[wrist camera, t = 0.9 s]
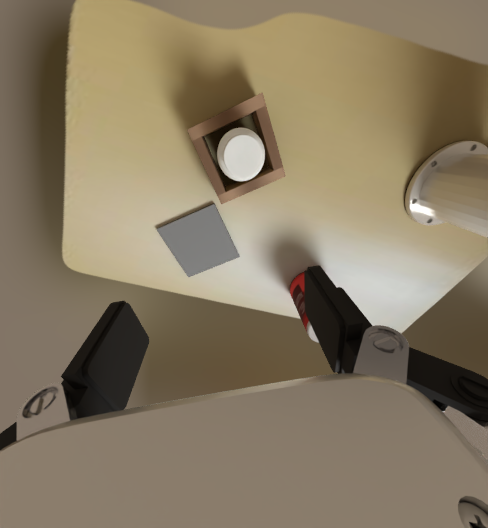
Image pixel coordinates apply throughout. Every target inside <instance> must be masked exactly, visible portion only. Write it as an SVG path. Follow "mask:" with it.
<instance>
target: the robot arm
mask: <svg viewBox="0 0 488 528" xmlns="http://www.w3.org/2000/svg"><path fill="white" fill-rule="evenodd" d="M405 206H406V211H407V213H408V215H409V216H410V217H411V219H413V220H414V221H416V222H418V223H421V224H424V225H437V224H442V223H444V222H447V223H450V224H452V225H455V226H458V227H460V228H463V229H466V230H468V231H471V232H474V233H476V234H479V235H482V236H484V237H487V238H488V148H487V147H486V146H485V145H484V144H482V143H480V142H476V141H460V142H455V143H452V144H450V145H447V146H445V147H443V148H441V149H440V150H438V151H436V152H435V153H434V154H433V155H431V156H430V157H429V158H428V159H427V160H426V161H425V162H424V163H423V164H422V165H421V166H420V167H419V169H418V170H417V171H416V173H415V174H414V176H413V178H412V179H411V181H410V184H409V186H408V188H407V192H406V196H405ZM304 294H305V313H306V316H307V318H308V320H309V322H310V324H311V326H312V328H313V331H314V333H315V335H316V337H317V339H318V341H319V343H320V345H321V347H322V350H323V352H324V354H325V356H326V358H327V360H328V362H329V364H330V366H331V369H332V370H333V372H337V373H338V374H333V375H322V376H316V377H309V378H303V379H296V380H290V381H284V382H278V383H272V384H266V385H260V386H255V387H249V388H243V389H237V390H232V391H226V392H220V393H214V394H208V395H204V396H197V397H192V398H186V399H181V400H175V401H169V402H164V403H158V404H153V405H147V406H142V407H137V408H131V409H125V410H124V408H125V407H126V405H127V402H128V400H129V397H130V394H131V391H132V388H133V386H134V383H135V380H136V377H137V374H138V372H139V369H140V366H141V363H142V361H143V358H144V355H145V352H146V349H147V347H148V344H149V337H148V335H147V333H146V332H145V330H144V328H143V327H142V325H141V323H140V321H139V320H138V318H137V316H136V315H135V313H134V311H133V309H132V308H131V306H130V305H129V304H128V303H126V302H125V301H119V302H113V303H111V304H110V305H109V307H108V308H107V309H106V311H105V313H104V314H103V315H102V317H101V318H100V320H99V322H98V323H97V324H96V326H95V327H94V329H93V330H92V331H91V333H90V335H89V336H88V338H87V339H86V340H85V342H84V343H83V345H82V346H81V348H80V349H79V351H78V352H77V354H76V355H75V357H74V358H73V360H72V361H71V362H70V364H69V365H68V367H67V368H66V370H65V372H64V373H63V374H62V376H61V377H62V378H63V379H64V380H63V382H62V383H61V384H60V383H52V384H49V385H46V386H44V387H42V388H41V389H39V390H38V391H36V392H35V393H34V394H32V395H31V396H30V397H29V398H28V399H27V400H26V401H25V403H24V404H23V405H22V406H21V408H20V410H19V412H18V414H17V422H15V423H14V424H13V425H11V426H10V427H9V428H7V429H6V430H5V431H3V432H2V433H1V434H0V528H488V464H487V463H486V461H485V460H484V459H483V458H482V456H483V457H484V458H486V459H487V460H488V379H486V378H485V377H483V376H481V375H479V374H477V373H475V372H473V371H470V370H467V369H465V368H462V367H460V366H457V365H454V364H452V363H449V362H447V361H444V360H441V359H439V358H436V357H434V356H431V355H428V354H425V353H423V352H420V351H418V350H415V349H413V348H410V347H409V345H408V342H407V340H406V338H405V337H404V336H403V335H402V334H401V333H399V332H398V331H396V330H394V329H392V328H389V327H386V326H372V325H371V323H370V322H369V321H368V320H367V318H366V317H365V316H364V315H363V313H362V312H361V311H360V310H359V308H358V307H357V306H356V305H355V303H354V302H353V301H352V300H351V298H350V297H349V296H348V295H347V293H346V292H345V291H344V290H343V289H342V288H340V287H339V288H336V286H335V285H334V284H333V282H332V281H331V280H330V279H329V277H328V276H327V275H326V273H325V272H324V271H323V269H322V268H321V267H320V266H313V267H308V269H307V270H306V271H305V272H304ZM471 444H472V445H474V446H475V447H476V448H477V449H479V450H480V451H482V452H483V455H482V456H481V455H480V454H479V453H478V452H477V450H476V449H475V448H474V447H473V446H472V445H471ZM458 503H459V504H458Z"/></svg>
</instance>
